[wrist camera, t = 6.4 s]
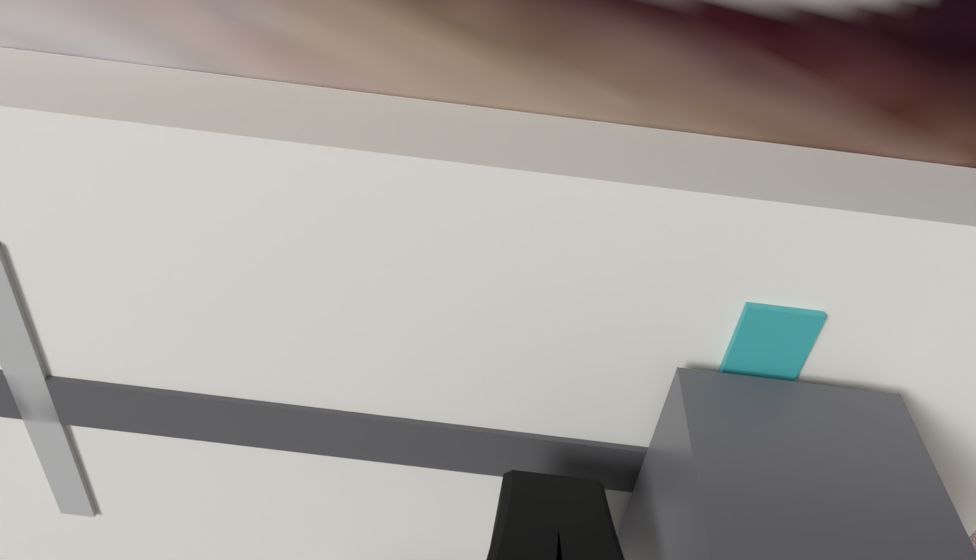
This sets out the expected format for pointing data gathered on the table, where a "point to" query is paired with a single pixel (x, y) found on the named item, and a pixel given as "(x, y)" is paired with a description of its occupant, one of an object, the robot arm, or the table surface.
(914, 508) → the fader knob
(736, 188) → the fader console
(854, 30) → the table surface
